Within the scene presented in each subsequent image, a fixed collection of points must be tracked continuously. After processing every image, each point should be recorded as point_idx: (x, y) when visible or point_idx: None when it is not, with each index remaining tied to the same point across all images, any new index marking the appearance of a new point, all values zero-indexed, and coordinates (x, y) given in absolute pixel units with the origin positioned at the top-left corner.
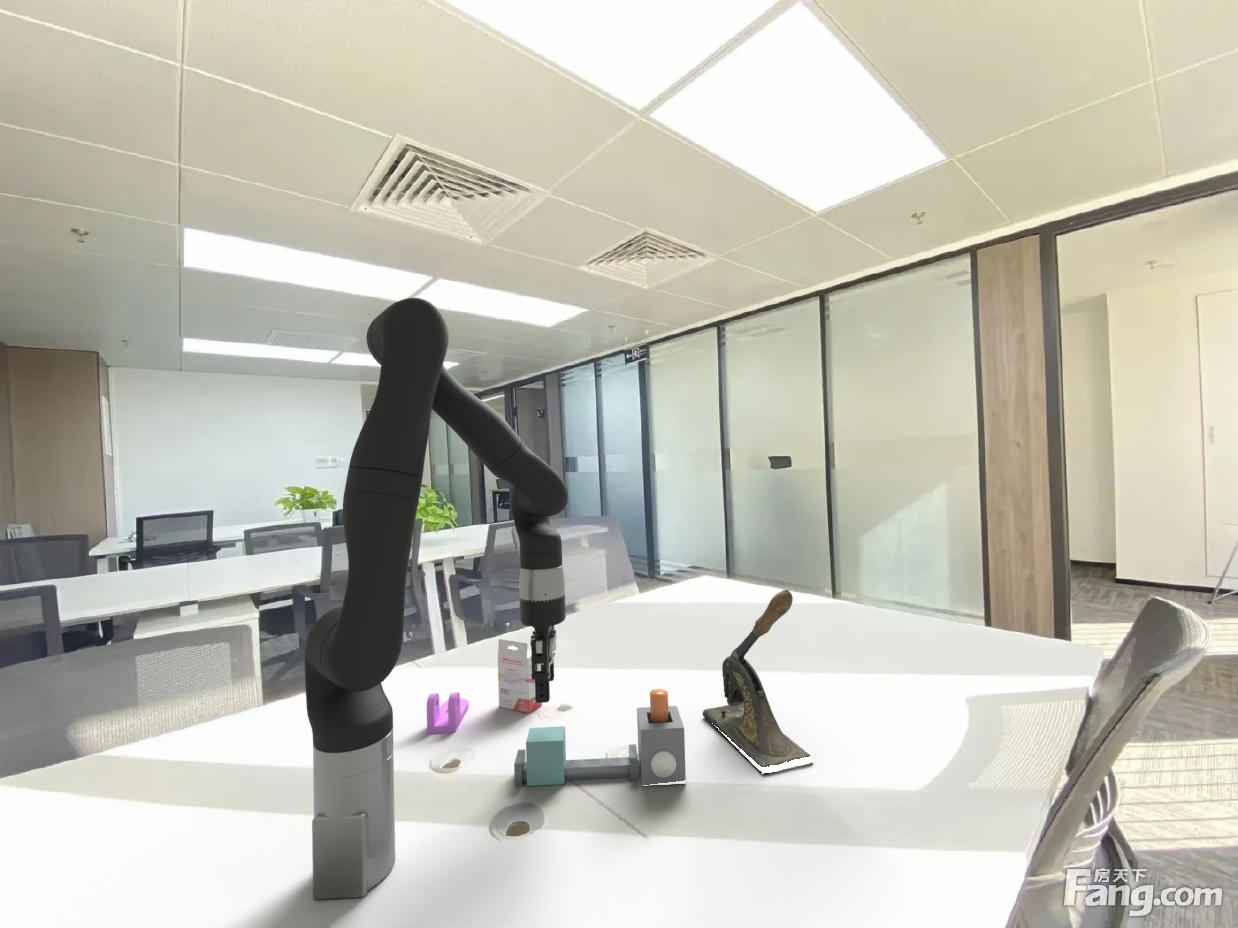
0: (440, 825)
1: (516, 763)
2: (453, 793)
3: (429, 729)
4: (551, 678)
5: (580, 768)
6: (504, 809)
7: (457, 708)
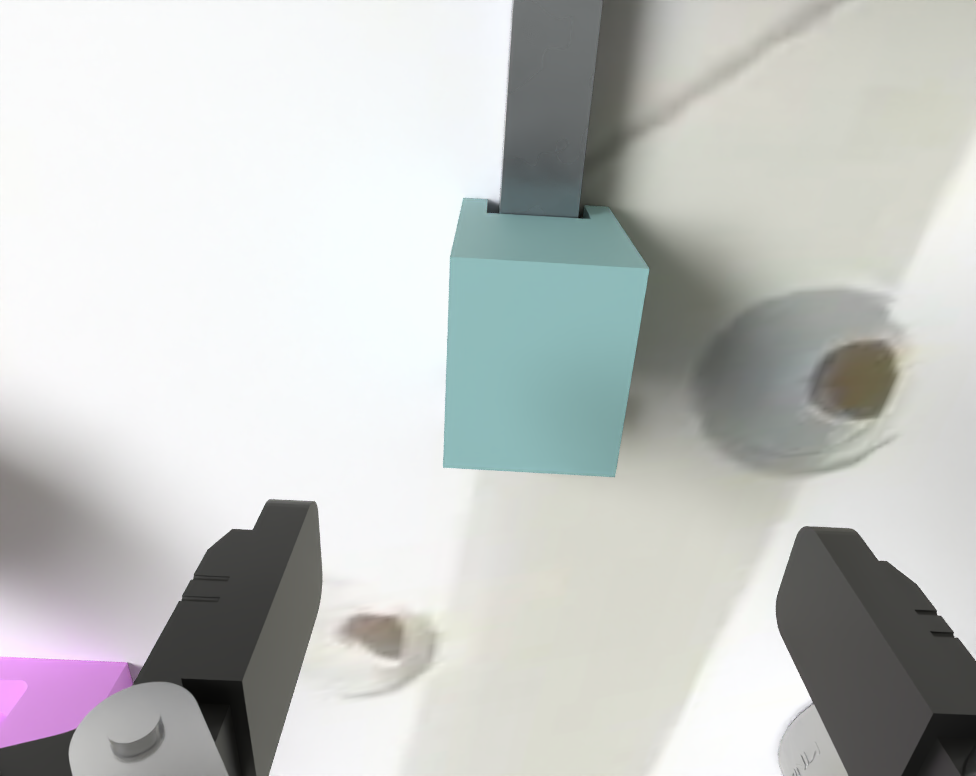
0: (745, 608)
1: None
2: (573, 603)
3: None
4: (313, 527)
5: (588, 126)
6: (720, 437)
7: (47, 733)
